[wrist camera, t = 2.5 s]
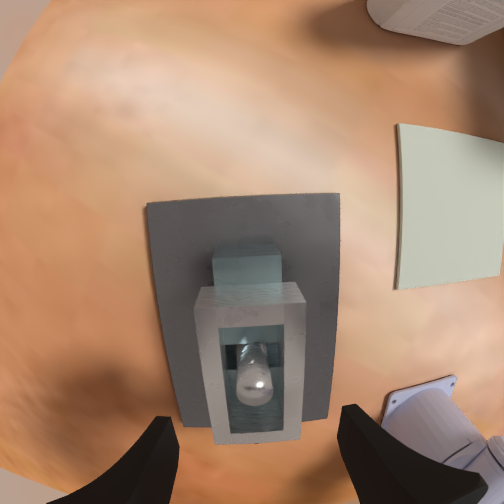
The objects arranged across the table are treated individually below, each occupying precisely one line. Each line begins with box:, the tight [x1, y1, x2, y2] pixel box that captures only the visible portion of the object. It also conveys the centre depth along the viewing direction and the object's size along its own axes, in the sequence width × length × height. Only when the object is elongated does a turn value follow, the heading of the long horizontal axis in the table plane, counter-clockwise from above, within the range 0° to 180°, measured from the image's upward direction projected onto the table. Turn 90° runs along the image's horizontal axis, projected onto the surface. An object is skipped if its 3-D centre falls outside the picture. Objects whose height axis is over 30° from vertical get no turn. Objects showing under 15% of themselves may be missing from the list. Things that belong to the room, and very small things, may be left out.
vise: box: [146, 193, 340, 444], centre depth 17 cm, size 18×12×8 cm, turn 3°
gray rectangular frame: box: [194, 282, 306, 444], centre depth 16 cm, size 9×5×3 cm, turn 3°
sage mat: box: [396, 123, 504, 290], centre depth 20 cm, size 12×12×1 cm
